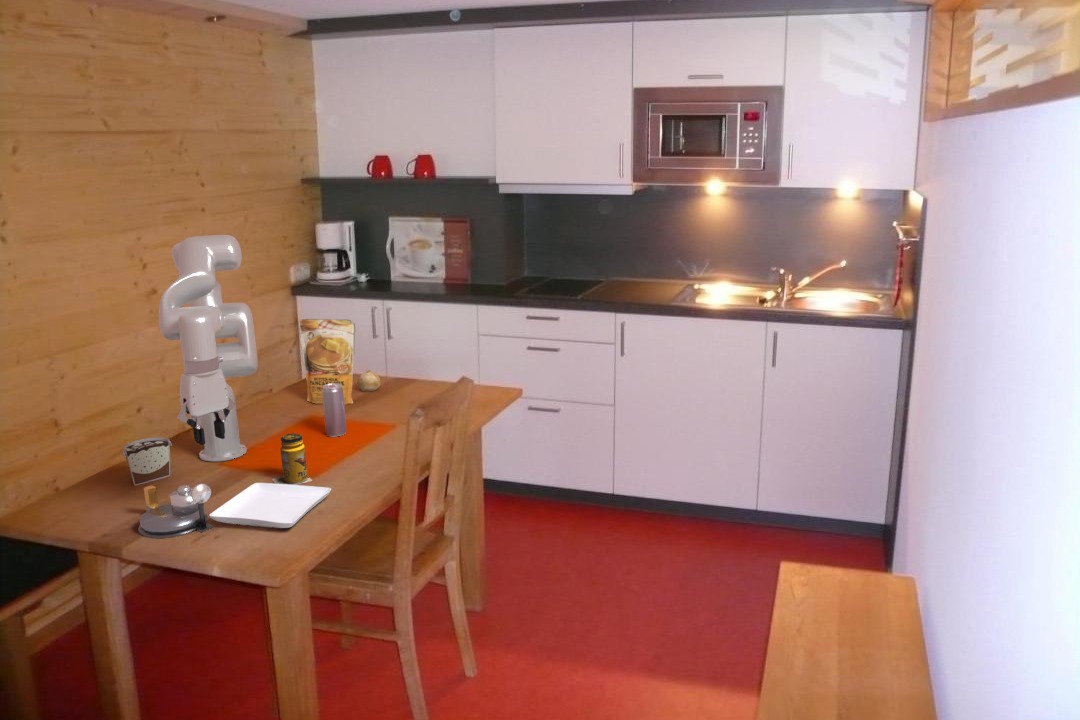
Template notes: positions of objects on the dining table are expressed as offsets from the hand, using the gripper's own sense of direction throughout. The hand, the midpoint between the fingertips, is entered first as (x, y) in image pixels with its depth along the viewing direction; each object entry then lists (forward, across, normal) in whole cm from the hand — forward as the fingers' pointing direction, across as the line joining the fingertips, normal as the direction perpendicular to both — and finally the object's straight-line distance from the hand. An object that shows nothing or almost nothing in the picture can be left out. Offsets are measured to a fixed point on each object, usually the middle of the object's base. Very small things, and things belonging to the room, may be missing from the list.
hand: (210, 439), depth 216 cm
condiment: (+18, -22, -1) cm, 28 cm away
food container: (+18, 0, -34) cm, 38 cm away
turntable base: (+17, +12, 0) cm, 21 cm away
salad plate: (+18, -7, +13) cm, 23 cm away
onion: (+18, -88, -52) cm, 104 cm away
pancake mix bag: (+18, -72, -51) cm, 90 cm away
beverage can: (+18, -52, -22) cm, 59 cm away
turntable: (+17, +12, -2) cm, 20 cm away
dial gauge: (+17, +8, +8) cm, 21 cm away
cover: (+15, +8, 0) cm, 17 cm away
